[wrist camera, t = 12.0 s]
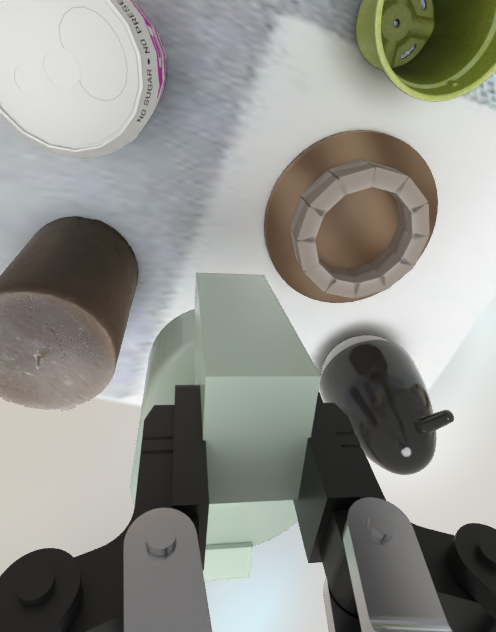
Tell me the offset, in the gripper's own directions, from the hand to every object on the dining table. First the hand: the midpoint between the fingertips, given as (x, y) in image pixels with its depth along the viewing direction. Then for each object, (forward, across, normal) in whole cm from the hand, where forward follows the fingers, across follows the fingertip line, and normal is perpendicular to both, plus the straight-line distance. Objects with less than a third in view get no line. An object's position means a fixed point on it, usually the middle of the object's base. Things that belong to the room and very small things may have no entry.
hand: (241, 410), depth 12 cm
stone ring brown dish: (+29, -14, +4) cm, 32 cm away
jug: (+9, 0, +5) cm, 10 cm away
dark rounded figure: (+29, -18, +20) cm, 40 cm away
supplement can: (+29, +7, -7) cm, 31 cm away
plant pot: (+29, -14, -12) cm, 34 cm away
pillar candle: (+29, +11, +10) cm, 33 cm away
